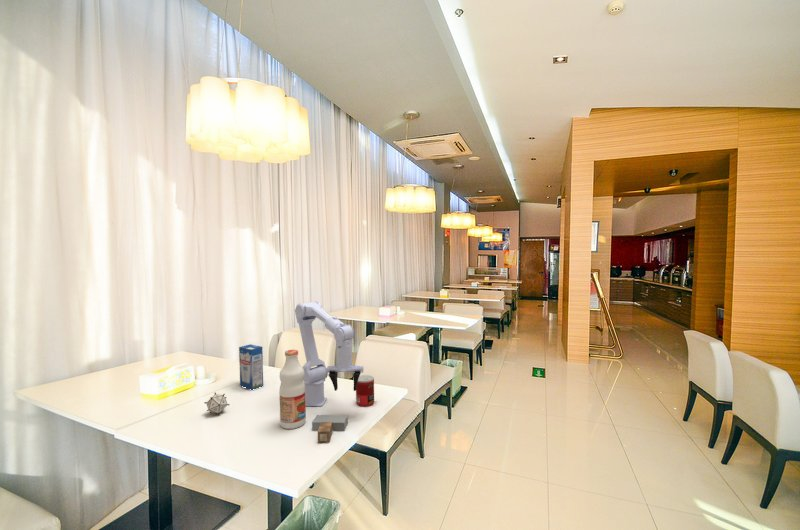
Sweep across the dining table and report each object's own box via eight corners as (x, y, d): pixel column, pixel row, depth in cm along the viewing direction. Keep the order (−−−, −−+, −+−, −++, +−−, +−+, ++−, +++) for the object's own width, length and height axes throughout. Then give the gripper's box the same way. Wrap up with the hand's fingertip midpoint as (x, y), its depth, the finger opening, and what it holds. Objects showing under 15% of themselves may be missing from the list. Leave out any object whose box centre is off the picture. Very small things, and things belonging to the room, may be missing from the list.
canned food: (371, 407, 144) (371, 381, 144) (353, 406, 145) (353, 380, 145) (376, 400, 151) (376, 375, 151) (359, 398, 153) (358, 374, 153)
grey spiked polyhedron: (223, 420, 142) (238, 400, 143) (206, 422, 134) (222, 400, 135) (212, 406, 146) (226, 386, 147) (195, 407, 138) (211, 386, 139)
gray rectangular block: (312, 430, 125) (312, 422, 125) (317, 422, 131) (316, 414, 131) (344, 430, 125) (344, 422, 125) (347, 422, 131) (347, 415, 131)
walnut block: (321, 433, 124) (317, 443, 117) (320, 422, 124) (317, 432, 116) (332, 432, 124) (329, 443, 117) (332, 421, 124) (329, 431, 117)
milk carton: (263, 386, 170) (262, 346, 169) (252, 390, 164) (251, 349, 164) (251, 382, 175) (250, 344, 175) (240, 386, 170) (238, 347, 169)
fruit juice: (281, 419, 134) (280, 348, 134) (306, 416, 136) (304, 347, 136) (278, 431, 125) (277, 355, 125) (305, 427, 127) (303, 353, 127)
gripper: (324, 359, 133) (324, 393, 133) (361, 359, 132) (361, 393, 132) (328, 354, 140) (329, 386, 140) (364, 353, 139) (364, 387, 139)
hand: (345, 389), depth 137 cm, fingers open, 7 cm apart
